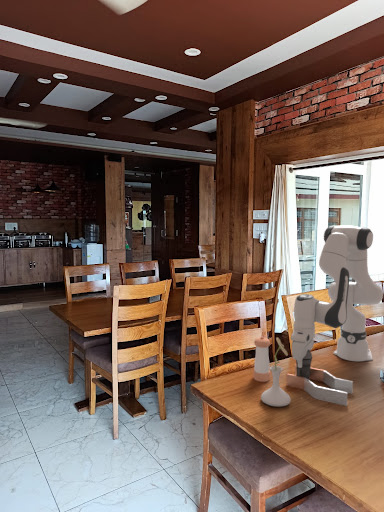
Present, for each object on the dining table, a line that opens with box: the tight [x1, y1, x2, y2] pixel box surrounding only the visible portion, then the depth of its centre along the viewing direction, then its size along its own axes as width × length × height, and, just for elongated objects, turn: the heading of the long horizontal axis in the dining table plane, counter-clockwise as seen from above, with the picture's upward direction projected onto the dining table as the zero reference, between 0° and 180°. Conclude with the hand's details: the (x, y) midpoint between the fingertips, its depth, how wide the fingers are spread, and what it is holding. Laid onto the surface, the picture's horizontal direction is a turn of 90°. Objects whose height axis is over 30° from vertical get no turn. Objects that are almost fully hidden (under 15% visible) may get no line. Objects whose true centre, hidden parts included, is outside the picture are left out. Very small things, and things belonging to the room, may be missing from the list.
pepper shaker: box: [253, 336, 271, 382], centre depth 170 cm, size 7×7×19 cm
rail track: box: [286, 364, 354, 407], centre depth 160 cm, size 19×25×5 cm
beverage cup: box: [295, 349, 313, 380], centre depth 166 cm, size 7×7×20 cm
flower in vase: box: [260, 337, 292, 408], centre depth 148 cm, size 13×11×25 cm
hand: (303, 363), depth 166 cm, fingers open, 8 cm apart
